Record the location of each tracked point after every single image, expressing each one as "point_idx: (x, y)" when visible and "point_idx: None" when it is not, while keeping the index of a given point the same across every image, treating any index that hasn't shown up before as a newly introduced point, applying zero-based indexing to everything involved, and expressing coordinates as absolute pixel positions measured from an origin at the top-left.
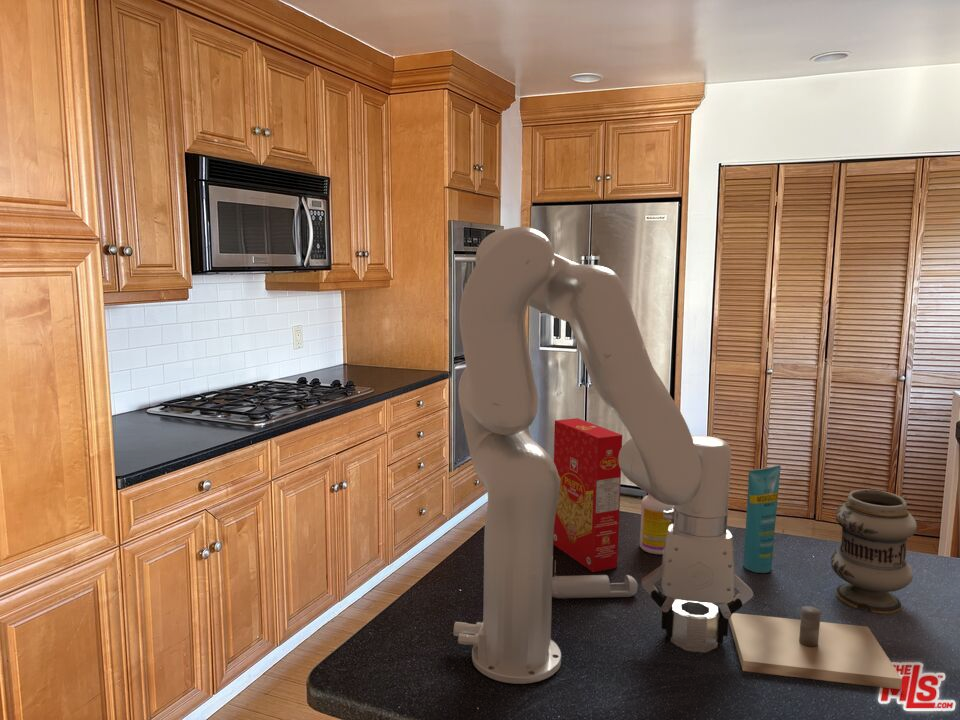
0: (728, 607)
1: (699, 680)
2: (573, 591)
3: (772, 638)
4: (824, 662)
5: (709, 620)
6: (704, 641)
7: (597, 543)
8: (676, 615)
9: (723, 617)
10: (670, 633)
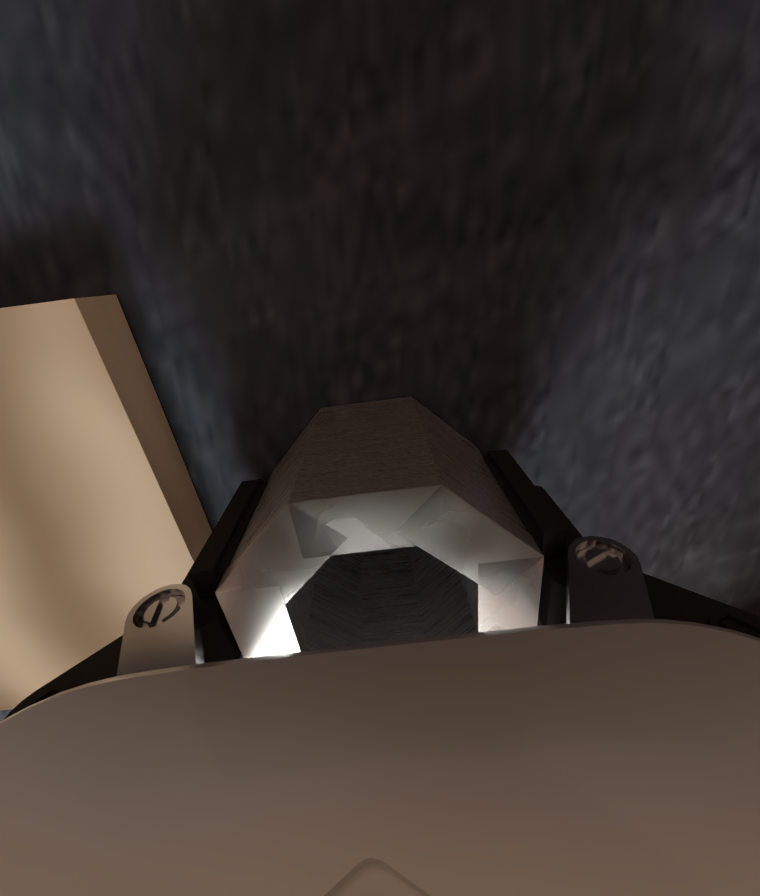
0: (119, 664)
1: (323, 73)
2: None
3: (25, 567)
4: None
5: (274, 517)
6: (319, 430)
7: None
8: (509, 523)
9: (198, 591)
10: (494, 464)
